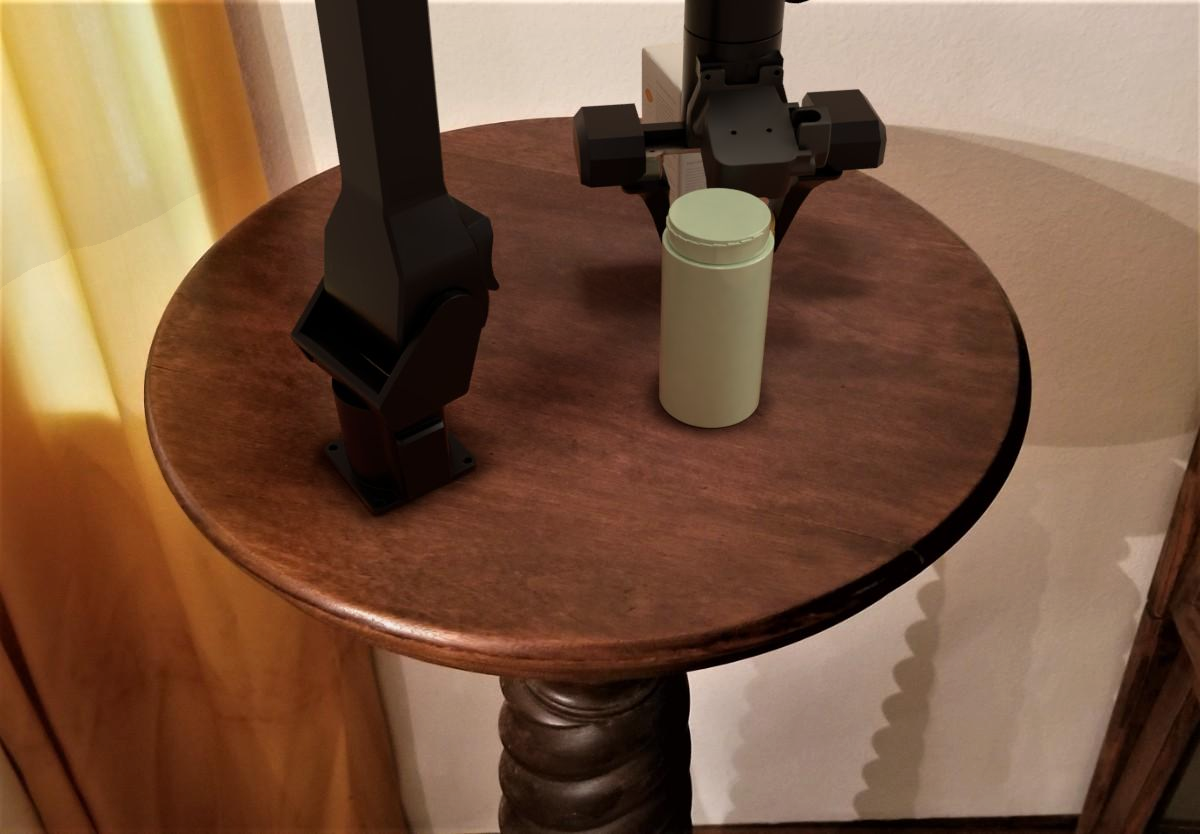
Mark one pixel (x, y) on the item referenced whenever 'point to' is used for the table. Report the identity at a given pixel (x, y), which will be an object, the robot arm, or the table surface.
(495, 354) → the table surface
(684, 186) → the small box
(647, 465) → the table surface
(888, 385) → the table surface
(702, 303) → the jar
